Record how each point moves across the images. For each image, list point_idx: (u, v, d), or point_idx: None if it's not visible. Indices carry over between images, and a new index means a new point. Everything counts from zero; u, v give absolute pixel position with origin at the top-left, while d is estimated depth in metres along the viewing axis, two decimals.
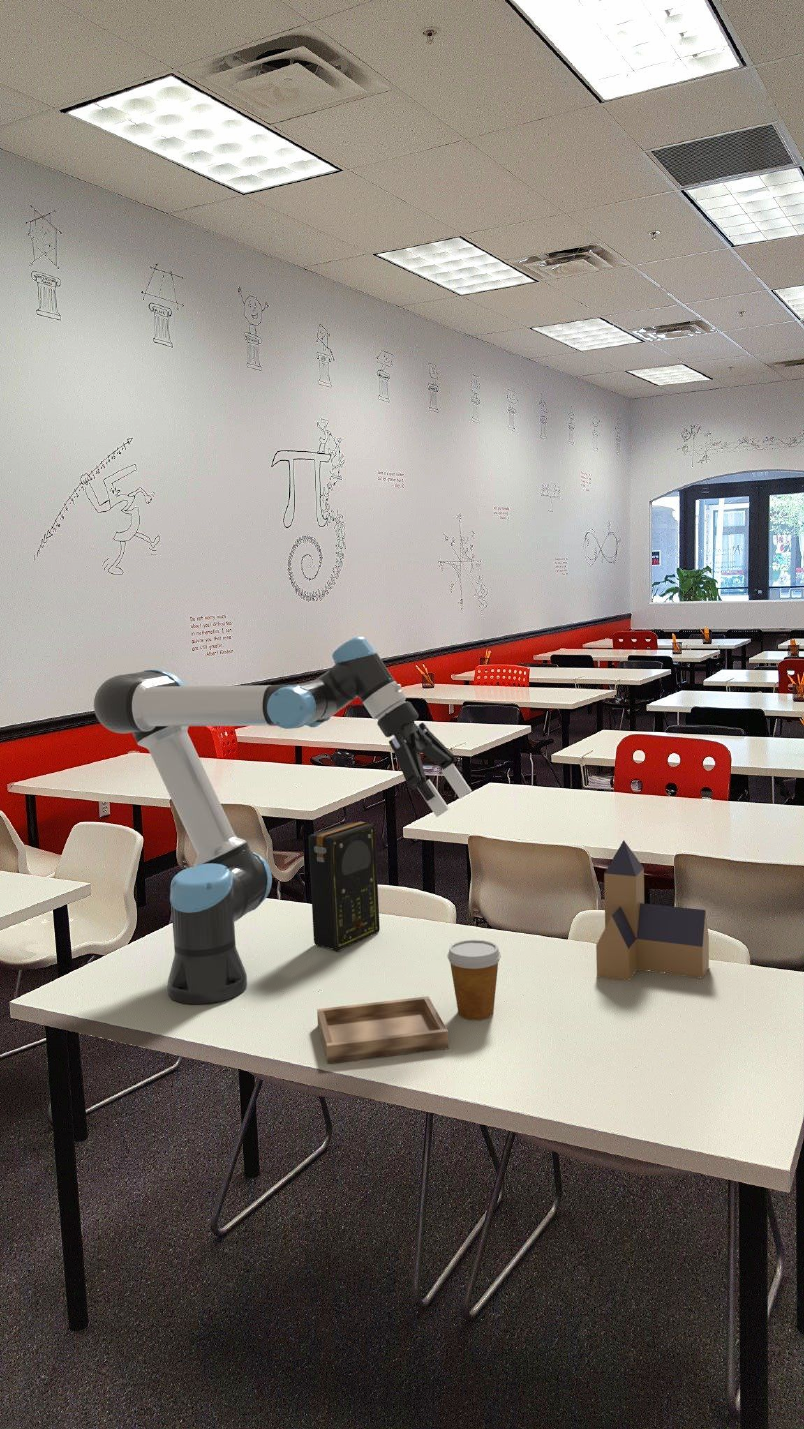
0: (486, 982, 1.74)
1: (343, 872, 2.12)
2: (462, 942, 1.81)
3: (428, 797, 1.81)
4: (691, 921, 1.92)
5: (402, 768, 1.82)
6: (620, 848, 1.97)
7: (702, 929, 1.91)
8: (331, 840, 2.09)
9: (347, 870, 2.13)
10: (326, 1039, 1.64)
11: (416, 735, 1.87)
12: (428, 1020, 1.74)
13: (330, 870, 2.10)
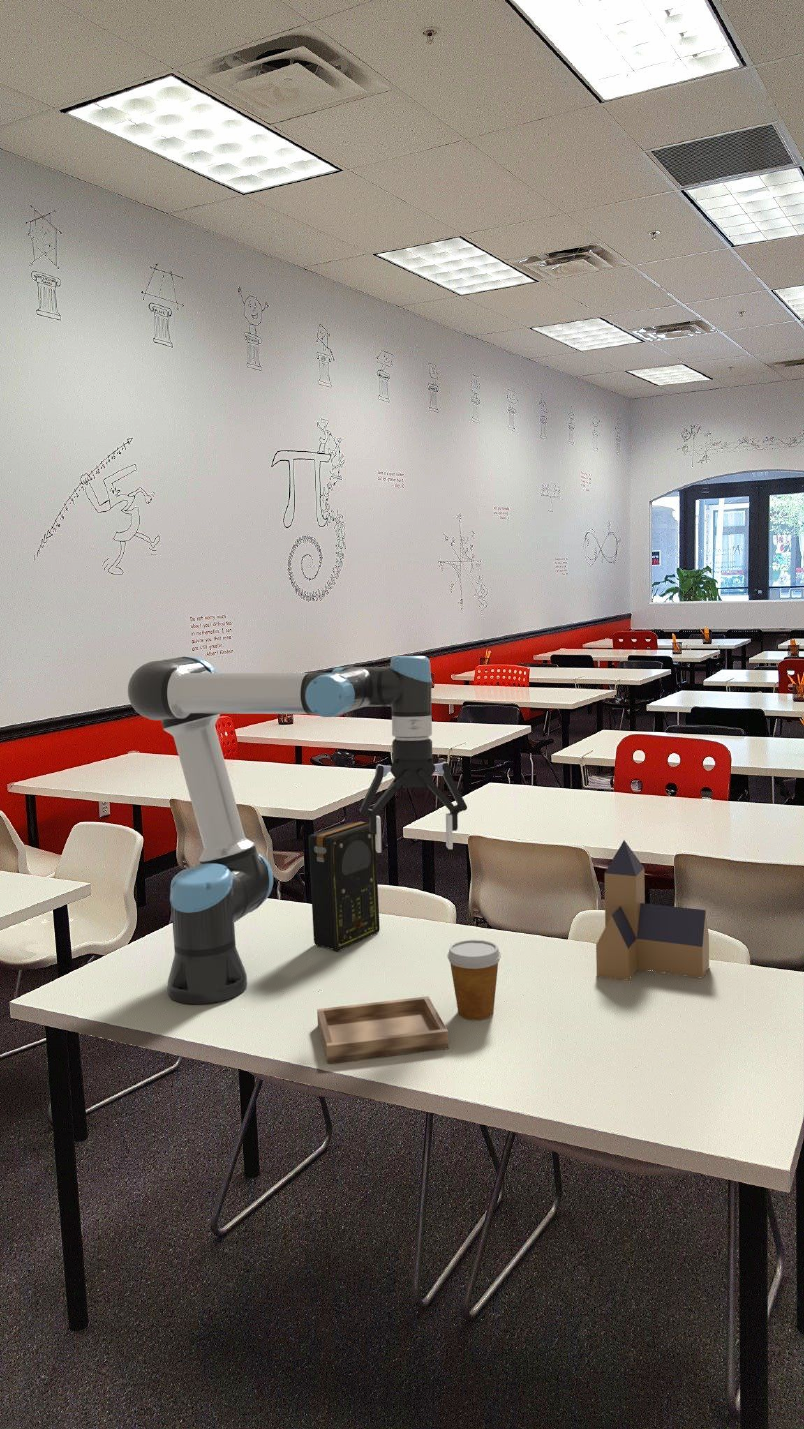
0: (486, 982, 1.74)
1: (344, 872, 2.12)
2: (462, 942, 1.81)
3: (370, 831, 1.89)
4: (691, 921, 1.92)
5: (366, 794, 1.89)
6: (620, 848, 1.97)
7: (702, 929, 1.91)
8: (331, 840, 2.09)
9: (347, 870, 2.13)
10: (326, 1039, 1.64)
11: (406, 774, 1.87)
12: (428, 1020, 1.74)
13: (330, 870, 2.10)
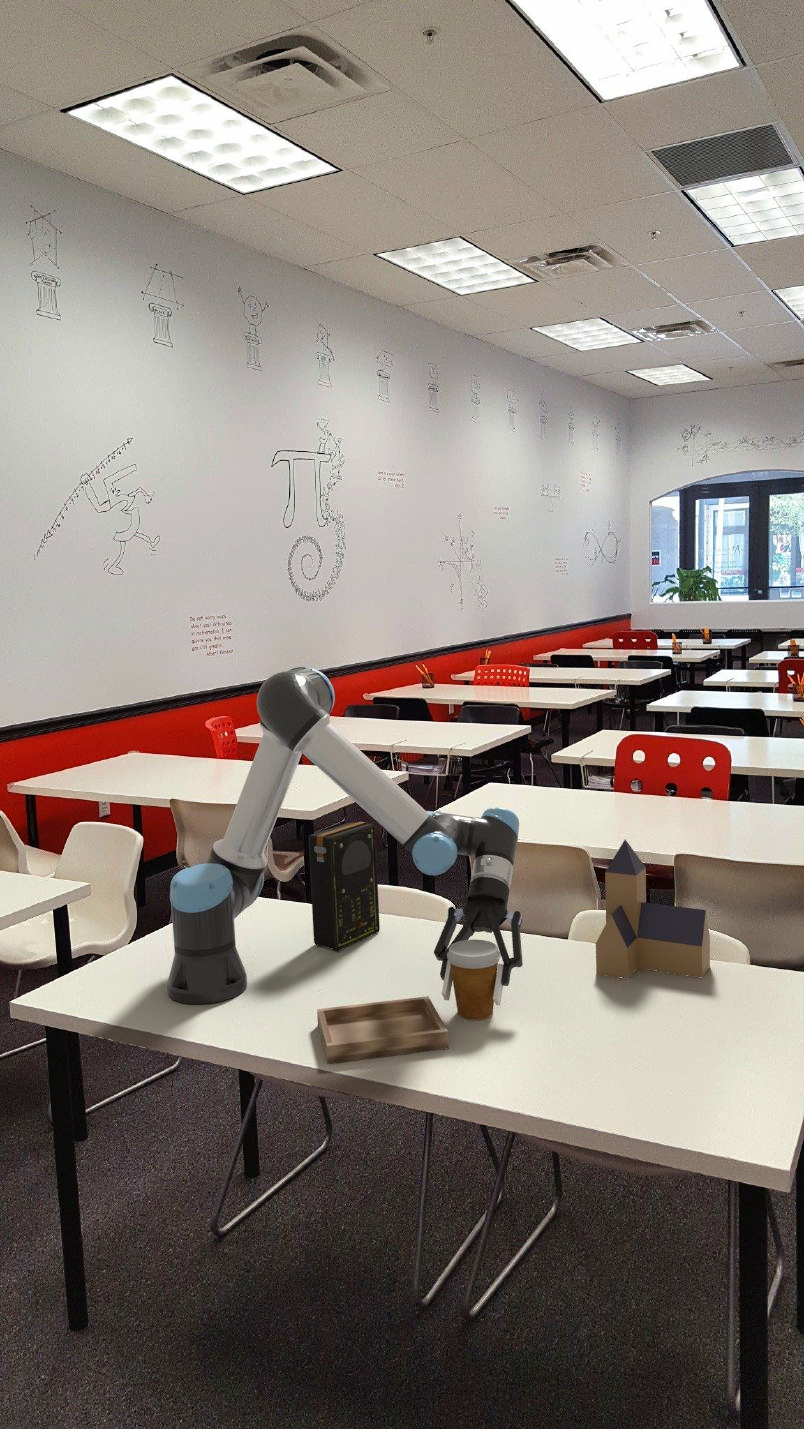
0: (485, 982, 1.74)
1: (344, 872, 2.12)
2: (462, 942, 1.81)
3: None
4: (691, 921, 1.92)
5: None
6: (621, 847, 1.98)
7: (702, 929, 1.91)
8: (331, 840, 2.09)
9: (347, 870, 2.13)
10: (326, 1039, 1.64)
11: (475, 911, 1.84)
12: (428, 1020, 1.74)
13: (330, 870, 2.10)
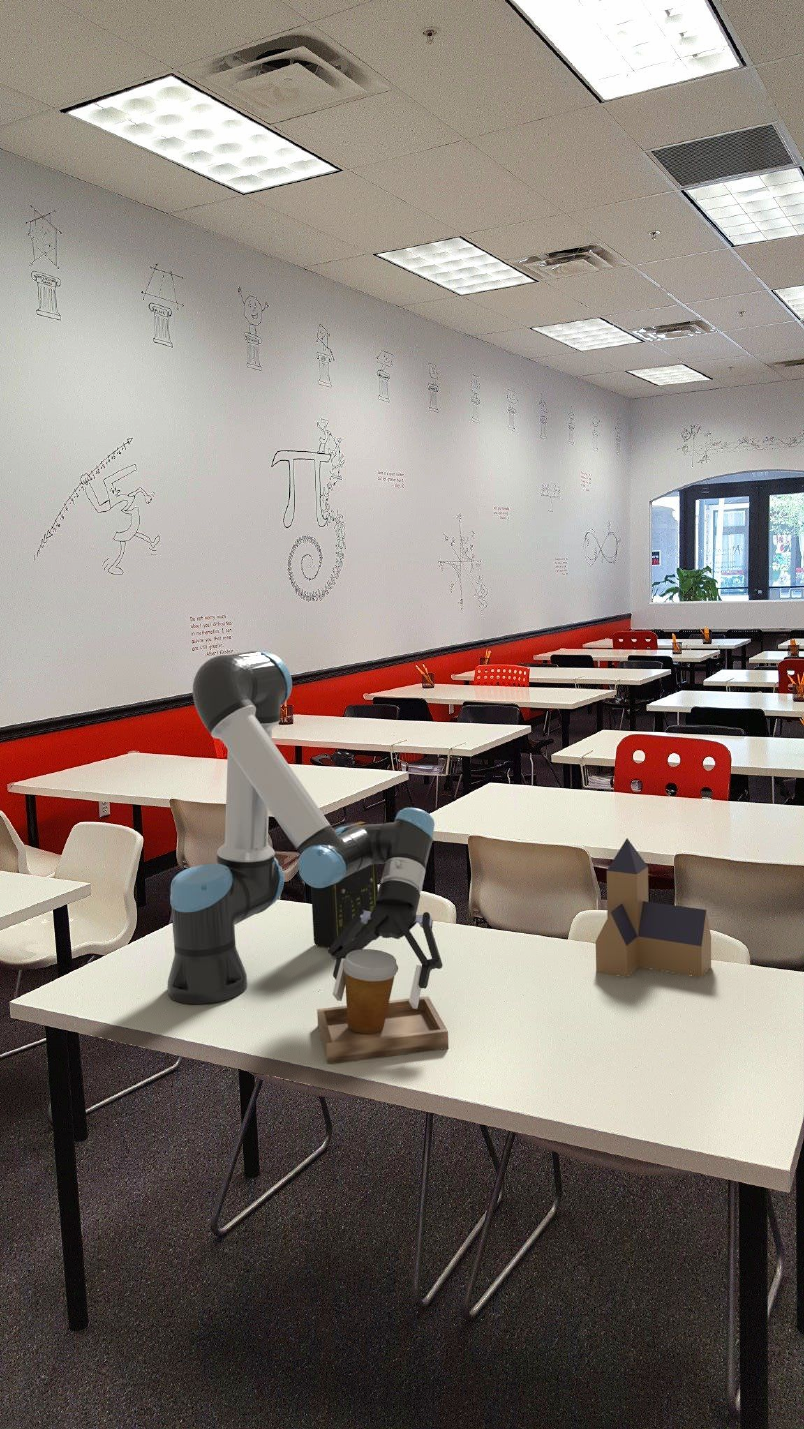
0: (379, 996, 1.68)
1: None
2: (360, 951, 1.74)
3: None
4: (692, 920, 1.92)
5: None
6: (623, 846, 1.99)
7: (702, 929, 1.91)
8: None
9: None
10: (326, 1039, 1.64)
11: (381, 916, 1.75)
12: (428, 1020, 1.74)
13: None
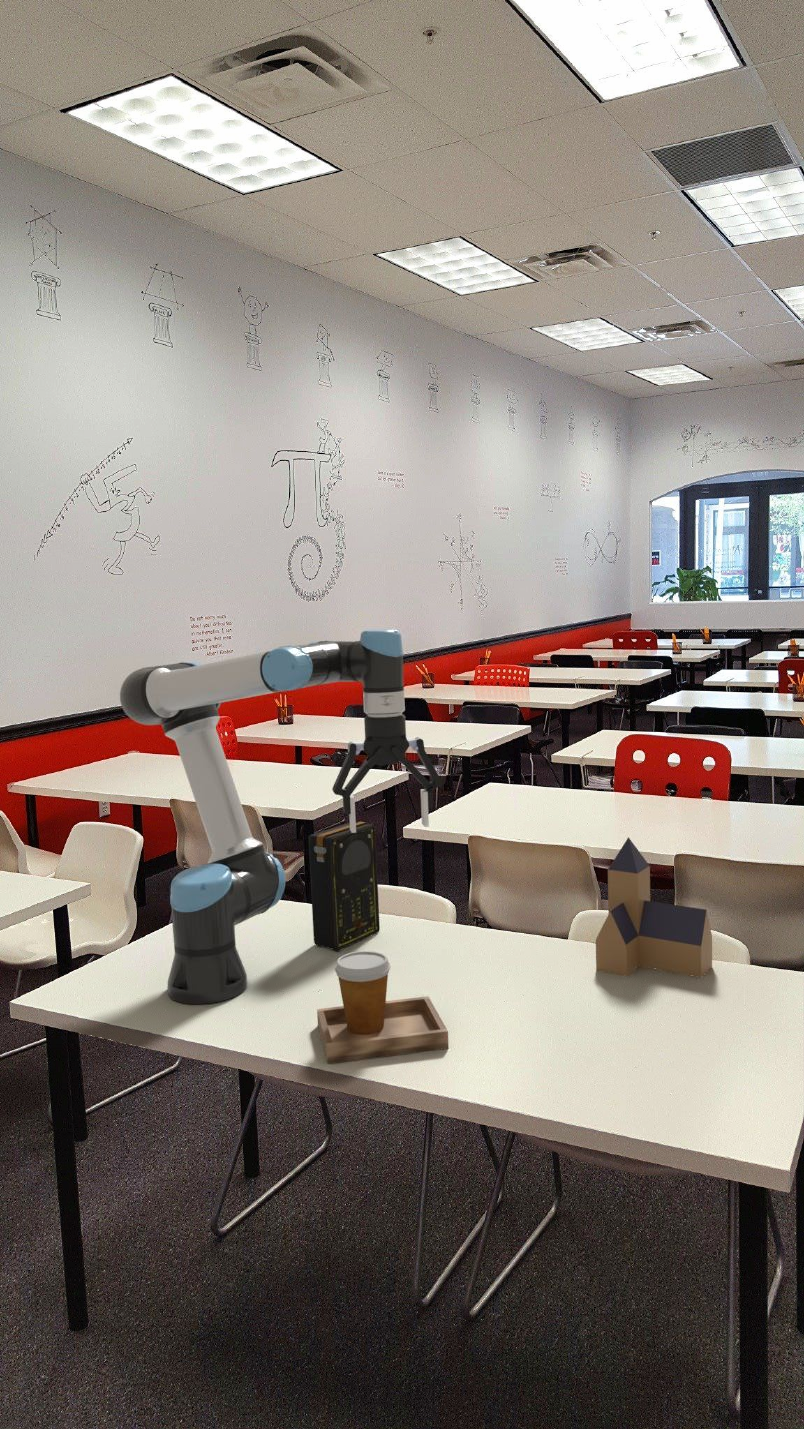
0: (372, 996, 1.68)
1: (343, 872, 2.12)
2: (353, 953, 1.74)
3: (344, 811, 1.84)
4: (692, 920, 1.93)
5: (339, 773, 1.84)
6: (624, 845, 1.99)
7: (702, 928, 1.91)
8: (331, 840, 2.09)
9: (347, 870, 2.13)
10: (326, 1039, 1.64)
11: (380, 752, 1.82)
12: (428, 1020, 1.74)
13: (330, 870, 2.10)
